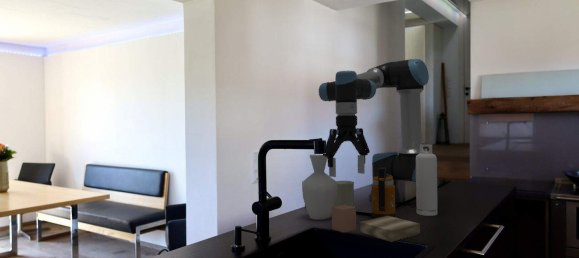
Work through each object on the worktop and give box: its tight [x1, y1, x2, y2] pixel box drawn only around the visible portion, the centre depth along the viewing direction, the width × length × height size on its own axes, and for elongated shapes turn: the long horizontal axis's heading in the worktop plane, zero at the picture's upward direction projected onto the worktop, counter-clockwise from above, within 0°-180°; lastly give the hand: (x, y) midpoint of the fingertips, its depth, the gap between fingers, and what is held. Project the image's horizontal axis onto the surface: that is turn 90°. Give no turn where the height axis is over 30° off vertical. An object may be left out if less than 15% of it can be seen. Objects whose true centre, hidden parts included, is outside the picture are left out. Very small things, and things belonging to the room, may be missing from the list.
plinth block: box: [359, 216, 421, 243], centre depth 134 cm, size 14×14×4 cm
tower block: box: [331, 204, 357, 233], centre depth 140 cm, size 6×6×8 cm
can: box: [334, 180, 355, 207], centre depth 173 cm, size 9×9×12 cm
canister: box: [370, 167, 396, 219], centre depth 153 cm, size 9×11×20 cm
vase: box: [301, 153, 337, 221], centre depth 158 cm, size 14×14×25 cm
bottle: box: [415, 143, 438, 217], centre depth 160 cm, size 8×8×28 cm
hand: (347, 175), depth 140 cm, fingers open, 13 cm apart
